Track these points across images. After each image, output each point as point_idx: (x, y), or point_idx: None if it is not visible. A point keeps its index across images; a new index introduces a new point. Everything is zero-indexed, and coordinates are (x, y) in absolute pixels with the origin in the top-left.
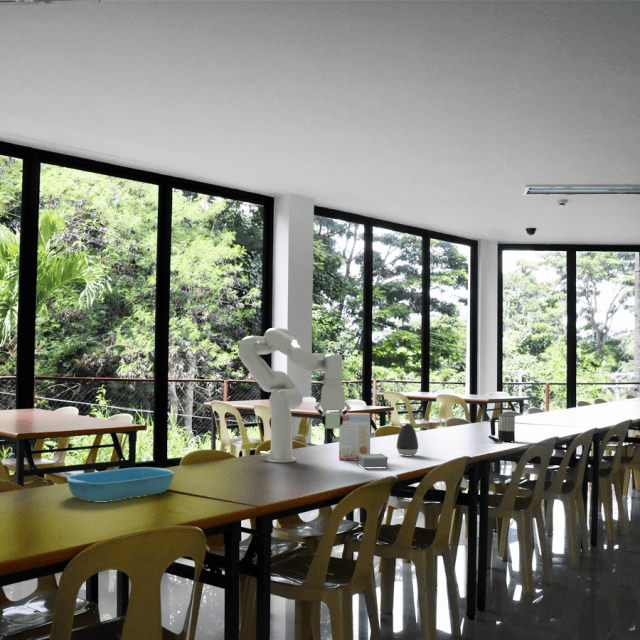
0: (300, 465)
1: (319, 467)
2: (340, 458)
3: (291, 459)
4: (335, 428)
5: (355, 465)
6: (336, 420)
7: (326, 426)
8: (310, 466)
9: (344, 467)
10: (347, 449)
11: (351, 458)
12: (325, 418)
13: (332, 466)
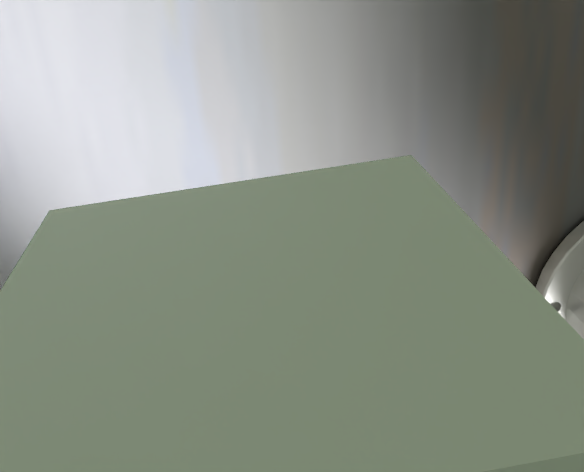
0: (510, 100)
1: (341, 15)
2: None
3: (579, 247)
4: (161, 193)
5: (19, 193)
6: (104, 323)
7: (402, 174)
8: (425, 60)
9: (97, 59)
10: None
11: None
12: None
13: (223, 98)
